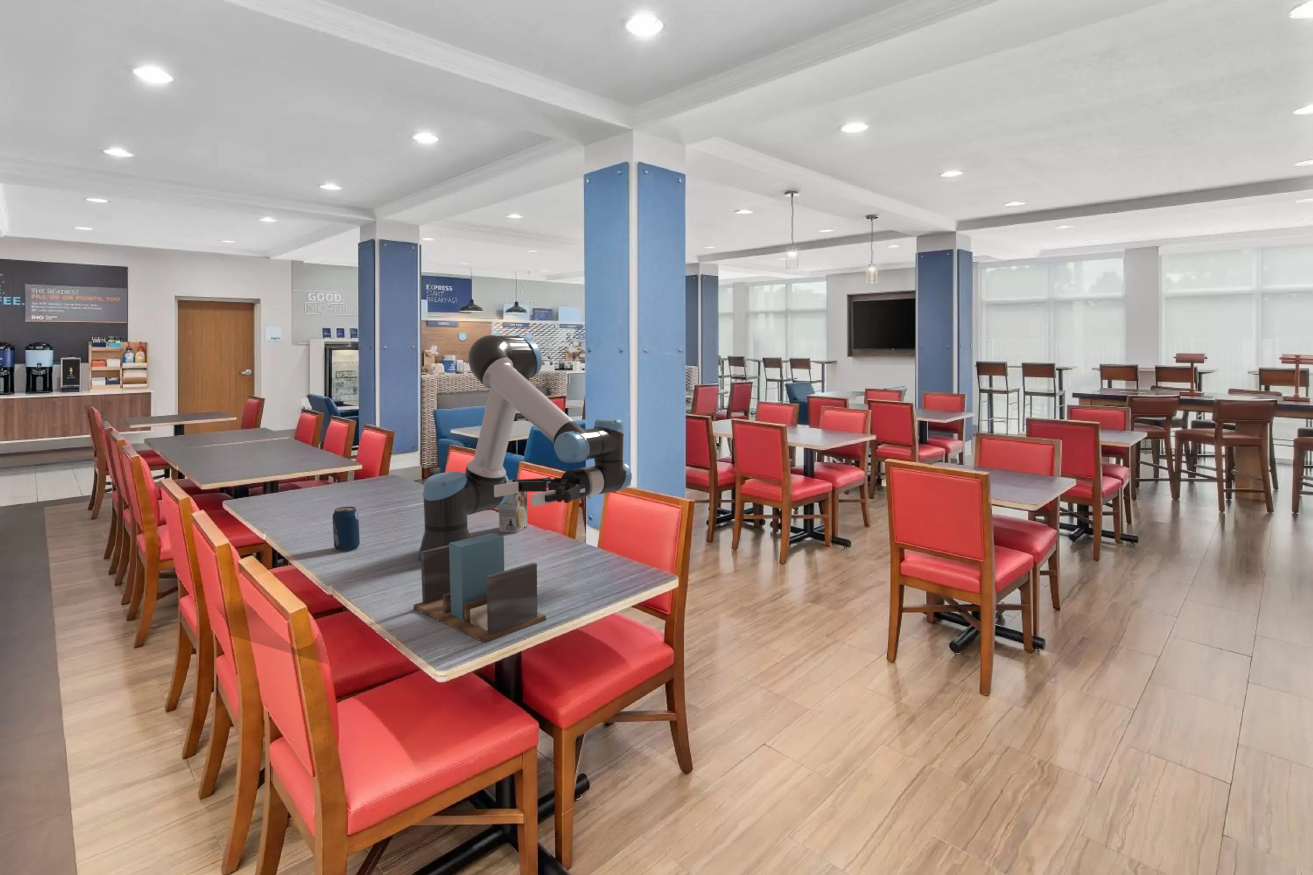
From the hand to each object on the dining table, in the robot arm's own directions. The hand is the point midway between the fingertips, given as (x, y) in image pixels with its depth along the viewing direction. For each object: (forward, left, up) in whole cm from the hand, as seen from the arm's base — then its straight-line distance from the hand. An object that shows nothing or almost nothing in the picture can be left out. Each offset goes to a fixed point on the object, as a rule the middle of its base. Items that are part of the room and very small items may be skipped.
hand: (512, 495), depth 156 cm
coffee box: (-42, +54, -26) cm, 73 cm away
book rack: (-3, -9, -25) cm, 27 cm away
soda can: (-71, +13, -26) cm, 76 cm away
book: (-3, -9, -24) cm, 26 cm away
